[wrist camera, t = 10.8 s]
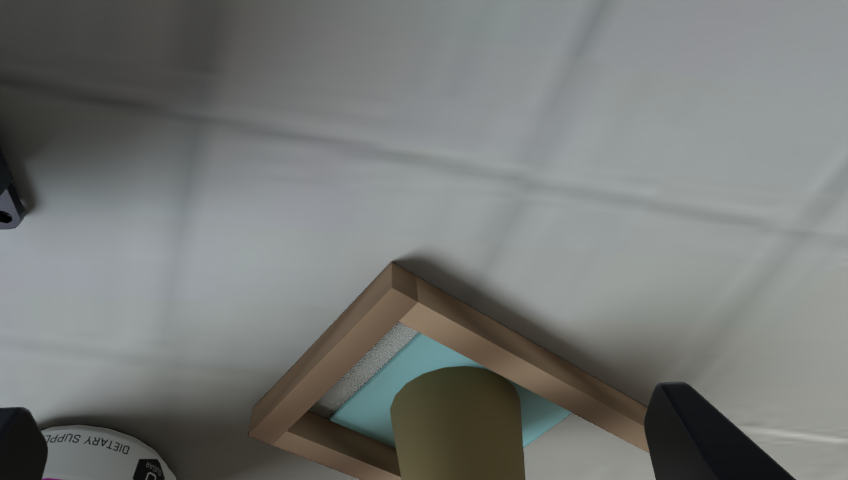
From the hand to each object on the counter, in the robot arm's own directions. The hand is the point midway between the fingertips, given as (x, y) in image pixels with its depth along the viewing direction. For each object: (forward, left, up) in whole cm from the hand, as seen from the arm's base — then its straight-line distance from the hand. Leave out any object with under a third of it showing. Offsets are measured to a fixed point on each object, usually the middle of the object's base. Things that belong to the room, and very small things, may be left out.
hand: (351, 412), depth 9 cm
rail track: (+5, -18, -13) cm, 23 cm away
